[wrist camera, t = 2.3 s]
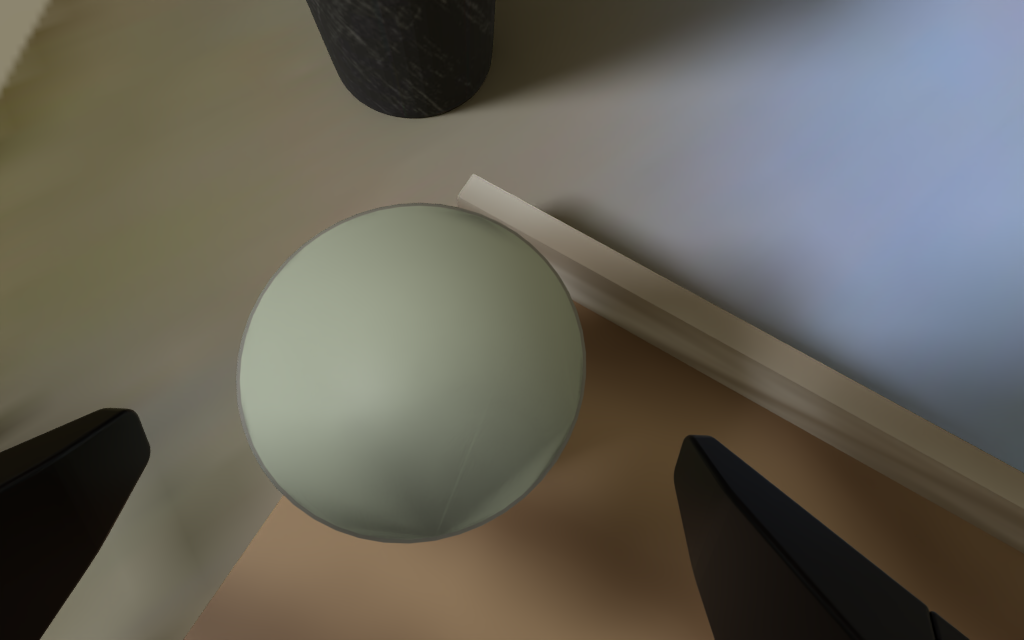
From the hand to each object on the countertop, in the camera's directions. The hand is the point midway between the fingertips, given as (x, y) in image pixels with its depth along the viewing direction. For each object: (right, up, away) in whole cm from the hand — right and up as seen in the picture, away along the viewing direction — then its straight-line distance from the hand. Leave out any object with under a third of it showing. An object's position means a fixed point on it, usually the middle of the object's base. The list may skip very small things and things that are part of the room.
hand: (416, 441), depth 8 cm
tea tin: (0, -1, +9) cm, 9 cm away
